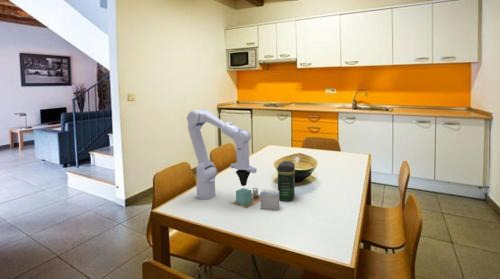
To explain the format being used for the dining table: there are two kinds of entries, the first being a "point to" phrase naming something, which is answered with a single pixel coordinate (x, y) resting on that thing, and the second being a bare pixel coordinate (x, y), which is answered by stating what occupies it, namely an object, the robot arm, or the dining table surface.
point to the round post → (255, 193)
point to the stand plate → (250, 203)
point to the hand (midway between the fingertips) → (243, 185)
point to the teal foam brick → (244, 196)
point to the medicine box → (269, 199)
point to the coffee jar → (286, 181)
